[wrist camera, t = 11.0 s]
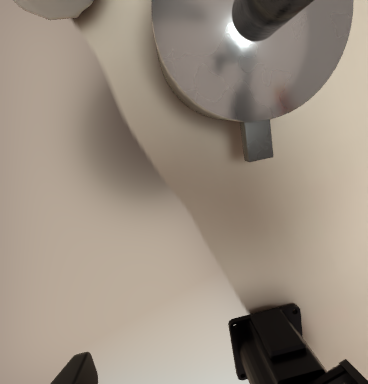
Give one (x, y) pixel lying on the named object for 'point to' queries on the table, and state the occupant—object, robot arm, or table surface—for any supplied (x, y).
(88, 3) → the salt shaker
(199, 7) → the lid
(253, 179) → the table surface
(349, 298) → the table surface
